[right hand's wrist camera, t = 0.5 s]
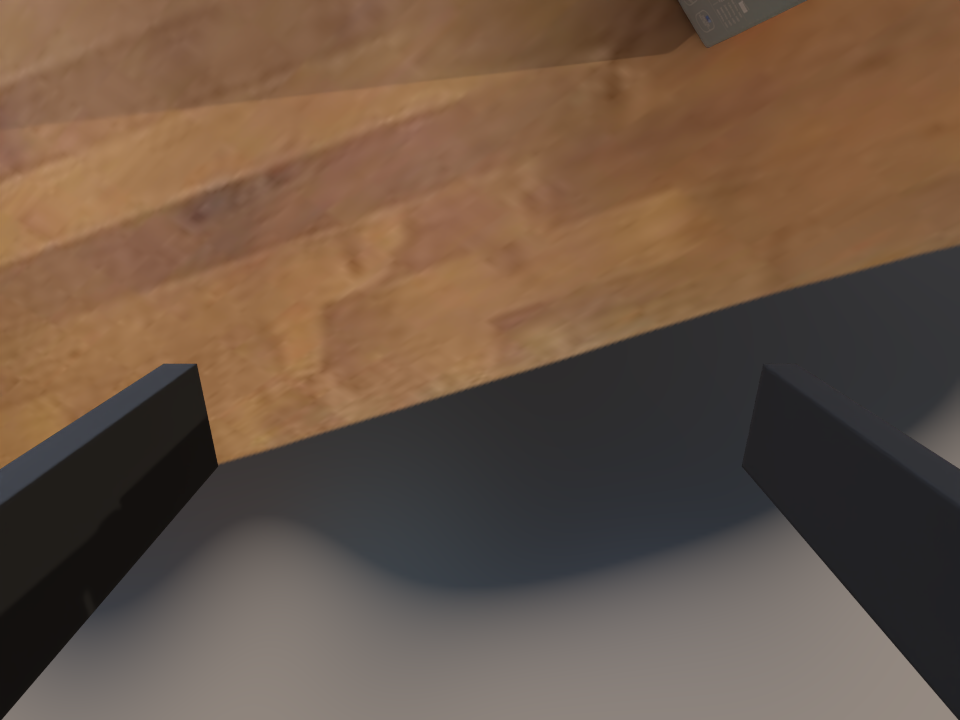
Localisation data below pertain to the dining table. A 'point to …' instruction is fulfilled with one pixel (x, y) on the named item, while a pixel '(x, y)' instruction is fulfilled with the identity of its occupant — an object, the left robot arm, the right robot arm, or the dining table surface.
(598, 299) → the dining table surface
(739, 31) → the hard drive box
